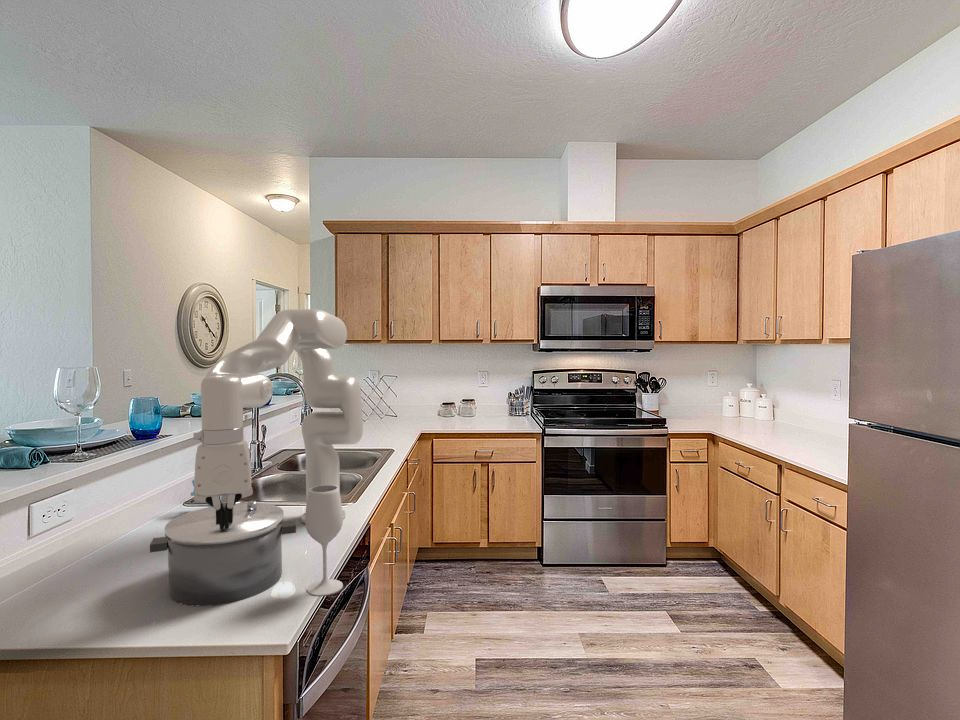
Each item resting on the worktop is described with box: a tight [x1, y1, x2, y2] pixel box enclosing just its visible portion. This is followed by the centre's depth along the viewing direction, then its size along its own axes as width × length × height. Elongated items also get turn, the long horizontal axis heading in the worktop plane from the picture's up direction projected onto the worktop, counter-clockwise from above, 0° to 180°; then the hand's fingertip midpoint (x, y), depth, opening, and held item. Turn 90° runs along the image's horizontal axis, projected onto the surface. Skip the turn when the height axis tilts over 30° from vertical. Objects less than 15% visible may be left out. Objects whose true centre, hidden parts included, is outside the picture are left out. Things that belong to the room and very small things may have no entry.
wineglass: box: [304, 485, 344, 597], centre depth 110 cm, size 8×8×21 cm
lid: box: [164, 500, 284, 545], centre depth 114 cm, size 25×23×4 cm
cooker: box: [149, 519, 297, 607], centre depth 114 cm, size 22×28×12 cm
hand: (224, 526), depth 106 cm, fingers closed
